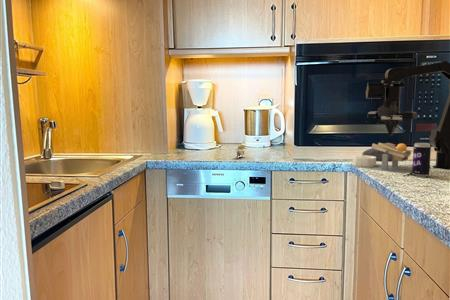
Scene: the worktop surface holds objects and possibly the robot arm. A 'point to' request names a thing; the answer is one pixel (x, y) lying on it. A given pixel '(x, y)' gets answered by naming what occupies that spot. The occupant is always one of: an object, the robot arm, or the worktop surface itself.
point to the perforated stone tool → (377, 154)
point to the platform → (240, 150)
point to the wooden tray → (392, 151)
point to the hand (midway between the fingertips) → (390, 135)
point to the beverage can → (421, 159)
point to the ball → (401, 147)
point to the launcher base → (388, 166)
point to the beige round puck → (364, 161)
